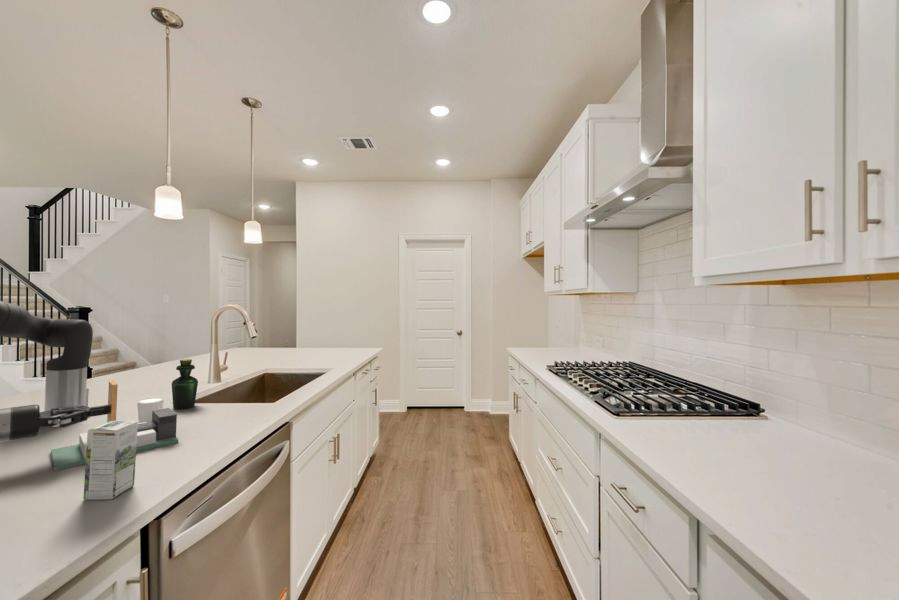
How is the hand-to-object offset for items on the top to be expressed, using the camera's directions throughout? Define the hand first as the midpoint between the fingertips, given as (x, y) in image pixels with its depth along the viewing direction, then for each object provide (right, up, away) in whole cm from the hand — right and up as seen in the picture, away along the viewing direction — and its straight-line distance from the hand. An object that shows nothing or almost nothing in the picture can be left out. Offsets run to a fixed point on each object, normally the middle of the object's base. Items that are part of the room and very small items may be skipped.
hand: (109, 409), depth 97 cm
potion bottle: (-9, -11, +39) cm, 41 cm away
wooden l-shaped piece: (+4, -7, +5) cm, 9 cm away
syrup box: (+20, -12, -21) cm, 31 cm away
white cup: (-8, -11, +23) cm, 27 cm away
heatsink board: (+1, -11, +1) cm, 11 cm away
